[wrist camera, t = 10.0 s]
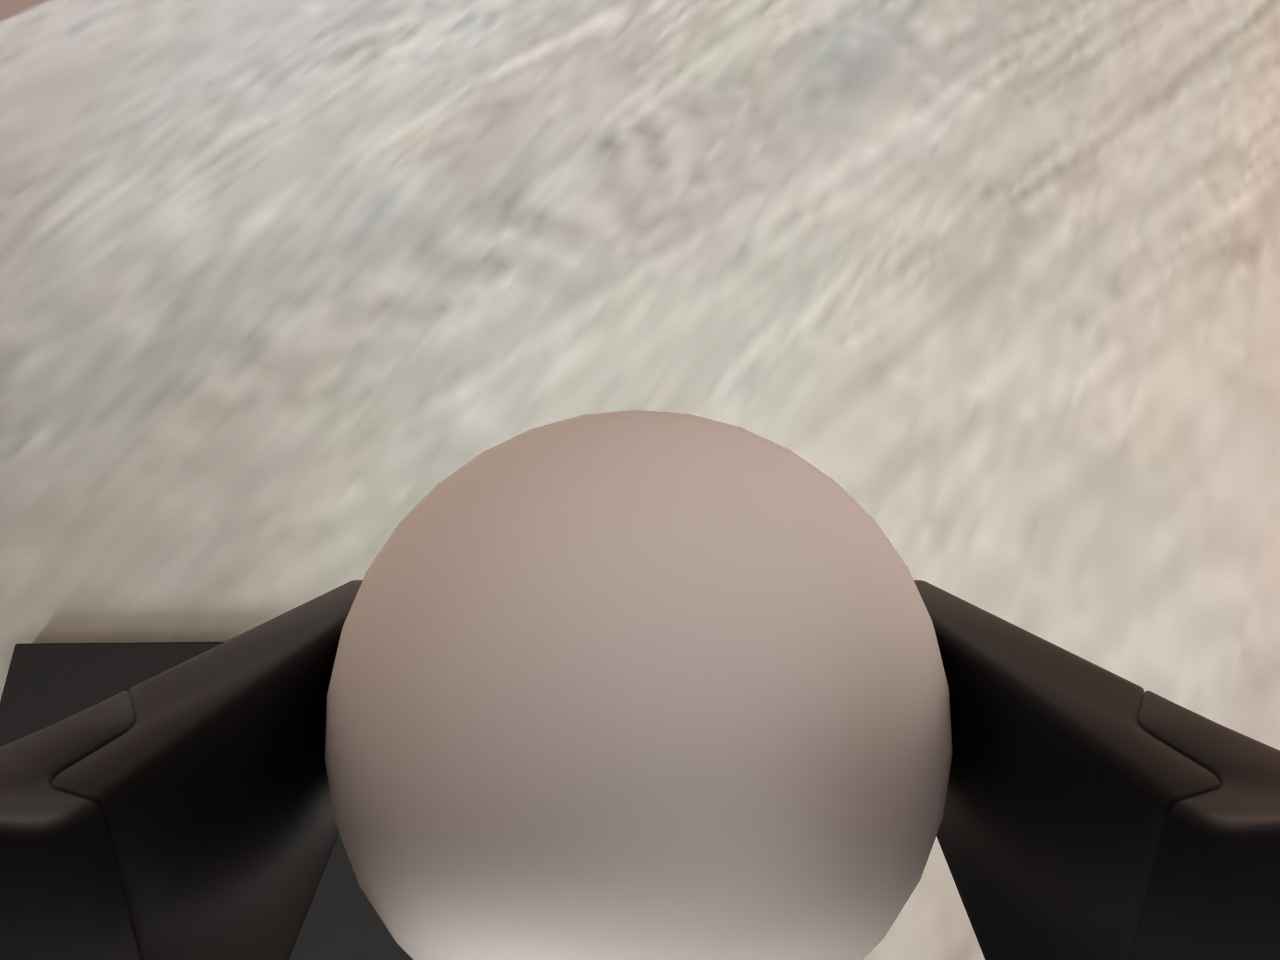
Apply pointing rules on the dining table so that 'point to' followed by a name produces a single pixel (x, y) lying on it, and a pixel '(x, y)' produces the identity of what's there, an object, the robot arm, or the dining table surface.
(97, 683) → the mat
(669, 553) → the lightbulb
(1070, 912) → the robot arm
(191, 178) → the dining table surface
